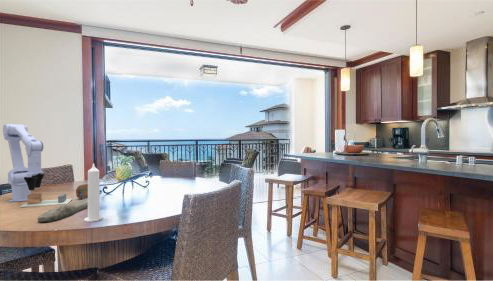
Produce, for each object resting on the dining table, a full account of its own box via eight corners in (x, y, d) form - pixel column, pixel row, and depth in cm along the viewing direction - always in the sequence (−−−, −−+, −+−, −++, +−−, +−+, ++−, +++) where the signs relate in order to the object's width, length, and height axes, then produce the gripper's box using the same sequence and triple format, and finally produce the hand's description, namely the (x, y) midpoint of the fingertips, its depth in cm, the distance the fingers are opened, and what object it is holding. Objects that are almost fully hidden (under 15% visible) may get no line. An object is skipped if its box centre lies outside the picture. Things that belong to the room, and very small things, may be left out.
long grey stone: (100, 206, 149) (82, 206, 149) (100, 196, 149) (82, 197, 149) (53, 223, 114) (30, 223, 114) (53, 210, 114) (30, 211, 114)
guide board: (29, 202, 150) (29, 194, 150) (73, 199, 157) (73, 192, 157) (19, 207, 139) (19, 199, 138) (67, 204, 146) (67, 196, 146)
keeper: (30, 202, 147) (30, 193, 147) (41, 201, 148) (41, 193, 148) (27, 203, 143) (27, 195, 143) (38, 203, 145) (38, 194, 145)
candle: (89, 217, 123) (89, 162, 123) (105, 217, 124) (105, 162, 123) (81, 222, 116) (81, 163, 116) (98, 221, 117) (98, 164, 116)
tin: (79, 200, 155) (79, 185, 155) (74, 200, 156) (74, 185, 156) (98, 194, 170) (98, 181, 170) (94, 194, 171) (94, 181, 170)
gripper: (38, 164, 140) (38, 190, 140) (48, 162, 154) (48, 186, 154) (21, 165, 138) (21, 191, 138) (33, 162, 151) (33, 186, 151)
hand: (34, 188), depth 146 cm, fingers open, 7 cm apart
